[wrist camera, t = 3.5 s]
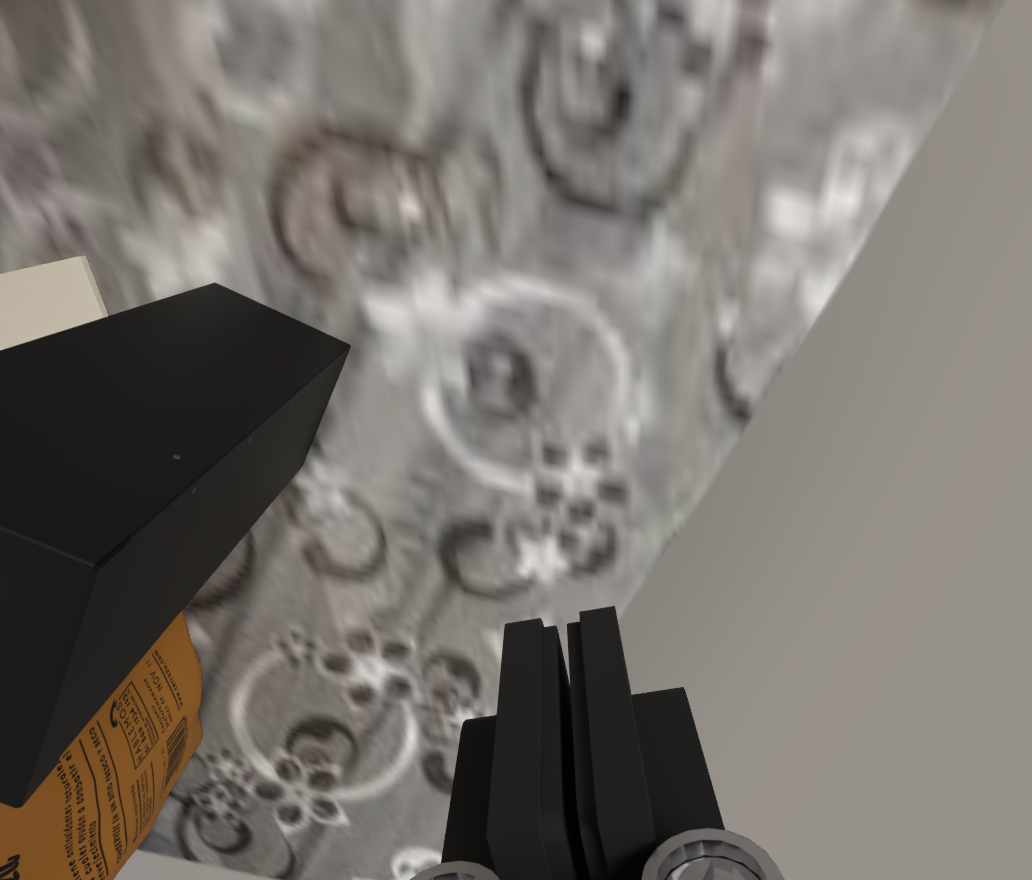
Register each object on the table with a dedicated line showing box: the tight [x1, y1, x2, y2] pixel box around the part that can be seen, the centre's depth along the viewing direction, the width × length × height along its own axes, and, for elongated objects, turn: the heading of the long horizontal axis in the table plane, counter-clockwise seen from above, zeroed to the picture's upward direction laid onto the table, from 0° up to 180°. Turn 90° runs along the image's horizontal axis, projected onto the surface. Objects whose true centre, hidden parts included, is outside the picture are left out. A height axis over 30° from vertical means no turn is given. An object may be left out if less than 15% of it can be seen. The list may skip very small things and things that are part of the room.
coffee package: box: [0, 611, 203, 880], centre depth 37 cm, size 10×12×22 cm
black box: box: [0, 283, 351, 809], centre depth 28 cm, size 8×8×28 cm
